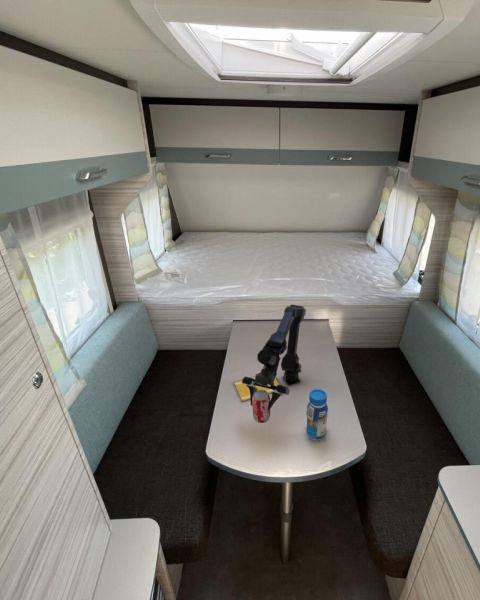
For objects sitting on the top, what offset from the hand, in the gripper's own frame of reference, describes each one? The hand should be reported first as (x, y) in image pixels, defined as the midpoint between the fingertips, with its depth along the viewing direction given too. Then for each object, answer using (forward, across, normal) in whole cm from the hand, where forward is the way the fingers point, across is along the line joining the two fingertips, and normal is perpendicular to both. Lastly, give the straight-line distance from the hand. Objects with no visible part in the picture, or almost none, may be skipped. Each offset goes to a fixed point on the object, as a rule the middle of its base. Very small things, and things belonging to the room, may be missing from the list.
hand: (259, 407), depth 127 cm
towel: (-8, -13, +28) cm, 32 cm away
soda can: (+4, 0, +6) cm, 7 cm away
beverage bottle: (+4, +21, +15) cm, 26 cm away
